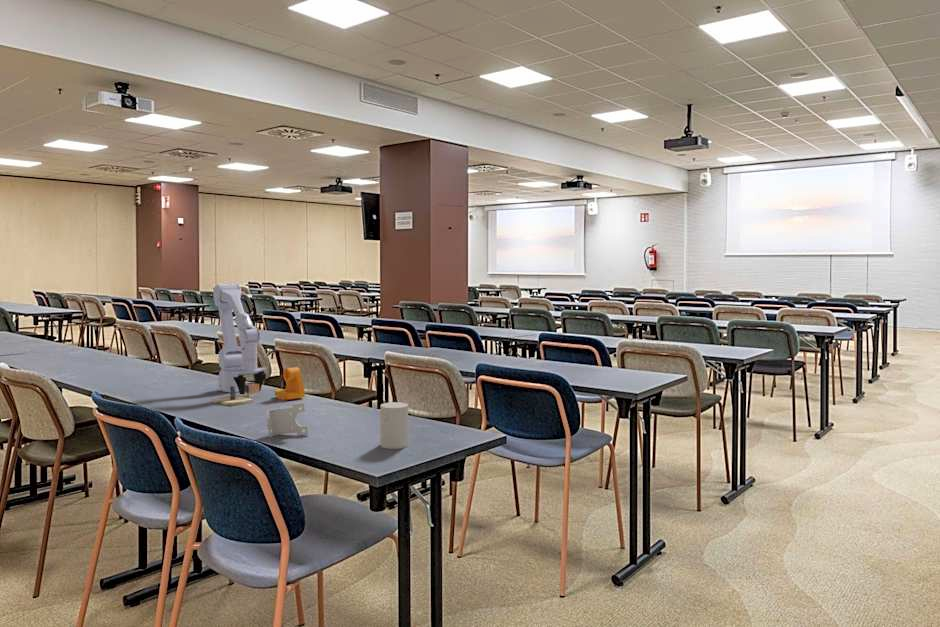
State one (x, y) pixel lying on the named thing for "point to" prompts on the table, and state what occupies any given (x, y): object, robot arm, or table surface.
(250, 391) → the nut
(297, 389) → the bracket
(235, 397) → the post block
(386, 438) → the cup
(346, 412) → the table surface
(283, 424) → the bracket
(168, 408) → the table surface
